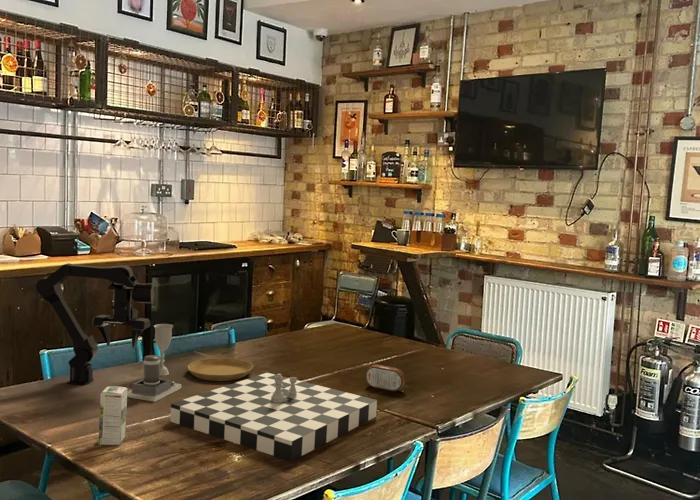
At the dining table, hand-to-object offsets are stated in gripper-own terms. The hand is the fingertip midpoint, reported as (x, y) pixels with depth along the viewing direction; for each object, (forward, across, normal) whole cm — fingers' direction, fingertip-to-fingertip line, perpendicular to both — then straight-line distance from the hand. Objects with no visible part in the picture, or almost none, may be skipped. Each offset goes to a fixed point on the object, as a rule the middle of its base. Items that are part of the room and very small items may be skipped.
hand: (121, 346), depth 229 cm
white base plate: (+13, -15, +7) cm, 21 cm away
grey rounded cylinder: (+12, -15, +8) cm, 21 cm away
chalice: (+13, -9, -15) cm, 22 cm away
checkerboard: (+14, -61, +20) cm, 65 cm away
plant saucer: (+14, -29, -22) cm, 39 cm away
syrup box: (+13, -22, +49) cm, 55 cm away
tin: (+13, -91, -22) cm, 95 cm away
